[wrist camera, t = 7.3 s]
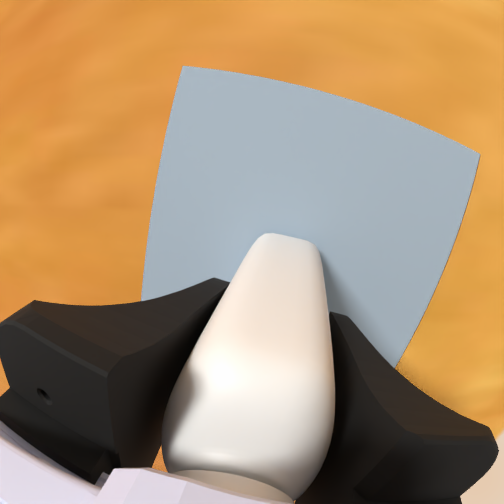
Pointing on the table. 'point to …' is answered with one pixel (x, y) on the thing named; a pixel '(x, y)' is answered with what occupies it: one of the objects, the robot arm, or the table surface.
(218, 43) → the table surface
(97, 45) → the table surface
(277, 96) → the mat
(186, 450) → the eye dropper bottle
